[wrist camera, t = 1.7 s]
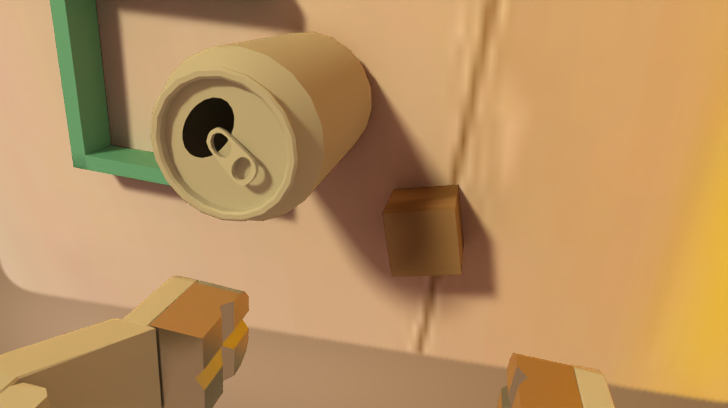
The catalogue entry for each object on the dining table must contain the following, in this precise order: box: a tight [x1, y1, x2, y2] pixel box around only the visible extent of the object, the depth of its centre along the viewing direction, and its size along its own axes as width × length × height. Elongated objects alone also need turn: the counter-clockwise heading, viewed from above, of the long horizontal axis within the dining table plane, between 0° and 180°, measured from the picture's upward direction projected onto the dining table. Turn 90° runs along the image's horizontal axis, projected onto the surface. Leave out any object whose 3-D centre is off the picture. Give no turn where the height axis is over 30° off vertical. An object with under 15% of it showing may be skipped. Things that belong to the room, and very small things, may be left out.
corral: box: [50, 0, 170, 185], centre depth 30 cm, size 13×13×2 cm
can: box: [150, 32, 372, 221], centre depth 24 cm, size 8×8×12 cm
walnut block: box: [382, 185, 464, 276], centre depth 30 cm, size 4×4×4 cm
